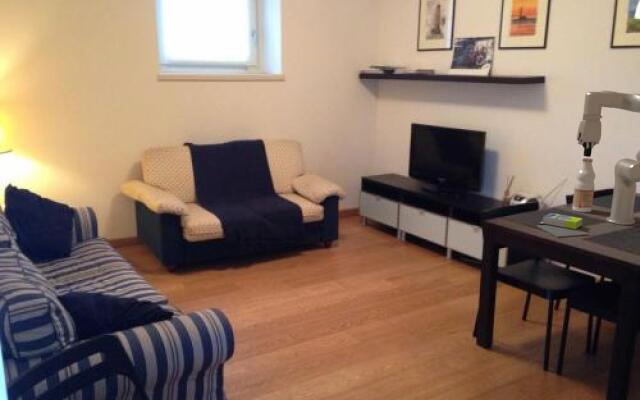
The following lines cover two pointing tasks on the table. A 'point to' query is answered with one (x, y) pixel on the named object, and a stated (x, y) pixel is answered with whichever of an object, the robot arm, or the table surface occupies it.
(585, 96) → the robot arm
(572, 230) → the mat
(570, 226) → the box
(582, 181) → the fruit juice
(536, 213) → the table surface
